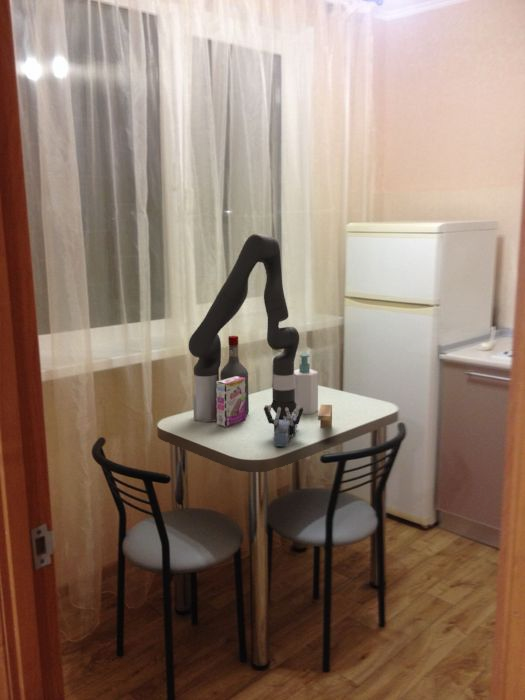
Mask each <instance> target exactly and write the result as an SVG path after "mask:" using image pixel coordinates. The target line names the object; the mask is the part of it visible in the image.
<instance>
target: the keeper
mask: <svg viewBox="0 0 525 700" xmlns="http://www.w3.org/2000/svg"><path fill="white" fill-rule="evenodd" d="M318 410H319V411H318V416H317V420H318V421H320V422H319V423H320V424H319V425H320V426H319V427H320V429H333V405H332V404H320V407H319V409H318Z"/></svg>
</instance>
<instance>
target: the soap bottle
mask: <svg viewBox="0 0 525 700" xmlns="http://www.w3.org/2000/svg"><path fill="white" fill-rule="evenodd" d="M299 357H300V358H301V361H300V363H299V364H298V365H299V368H297V369H294V377H295V403H296V405H297V406H300V407H301V406H303V407H304V410H303V412H302V415H305V414H306V415H311V414H313V413H316V412H317V411H318V410H319V371H316V370H314V369H312V368H310V367H311V366H310V363H309V362H308V358H309V357H310V354H308V353H302V354H299ZM315 411H316V412H315ZM293 412H294V413H296V415H298V413H297V409H296V408H295V410H294V411H293Z"/></svg>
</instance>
